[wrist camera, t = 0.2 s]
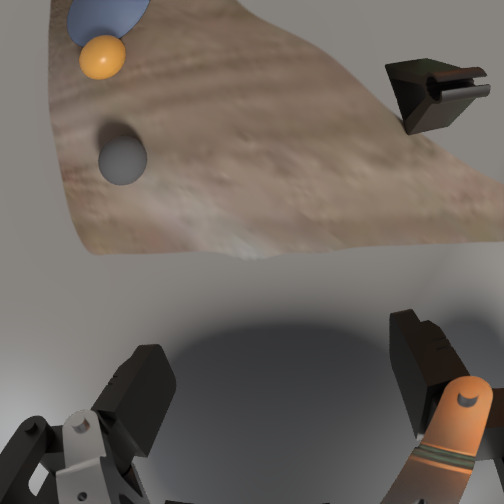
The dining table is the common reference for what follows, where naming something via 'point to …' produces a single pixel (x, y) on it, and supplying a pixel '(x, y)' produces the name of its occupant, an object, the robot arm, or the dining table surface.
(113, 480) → the robot arm
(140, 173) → the gray ball
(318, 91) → the dining table surface
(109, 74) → the orange ball
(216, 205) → the dining table surface
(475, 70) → the door stopper
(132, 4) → the blue plate
